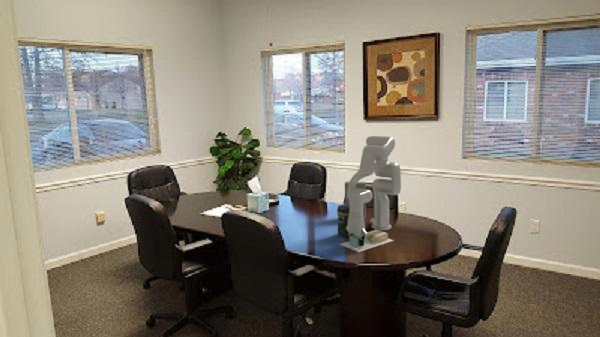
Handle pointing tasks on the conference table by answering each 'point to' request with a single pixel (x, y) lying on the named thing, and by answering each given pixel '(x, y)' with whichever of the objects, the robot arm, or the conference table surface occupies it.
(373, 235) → the maple block
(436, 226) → the conference table surface
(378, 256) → the conference table surface
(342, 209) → the coffee jar
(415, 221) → the conference table surface
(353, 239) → the teal cube
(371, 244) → the felt mat
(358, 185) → the cassette tape recorder
